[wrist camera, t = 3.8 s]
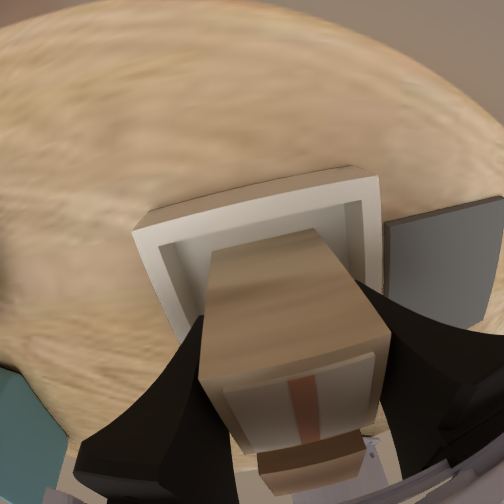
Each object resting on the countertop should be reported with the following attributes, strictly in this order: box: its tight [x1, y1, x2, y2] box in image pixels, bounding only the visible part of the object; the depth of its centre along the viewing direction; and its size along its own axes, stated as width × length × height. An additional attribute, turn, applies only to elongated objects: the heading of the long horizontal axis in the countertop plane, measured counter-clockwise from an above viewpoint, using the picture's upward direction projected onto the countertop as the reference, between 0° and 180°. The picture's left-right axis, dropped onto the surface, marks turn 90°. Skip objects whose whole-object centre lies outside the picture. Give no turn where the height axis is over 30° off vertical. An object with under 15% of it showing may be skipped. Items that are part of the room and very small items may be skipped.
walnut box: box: [257, 429, 367, 496], centre depth 13 cm, size 4×4×7 cm
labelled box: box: [198, 228, 391, 455], centre depth 10 cm, size 4×4×7 cm
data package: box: [0, 368, 68, 504], centre depth 13 cm, size 12×4×12 cm, turn 179°
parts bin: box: [131, 166, 382, 345], centre depth 14 cm, size 16×9×2 cm, turn 12°
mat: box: [384, 196, 504, 329], centre depth 14 cm, size 10×10×1 cm
